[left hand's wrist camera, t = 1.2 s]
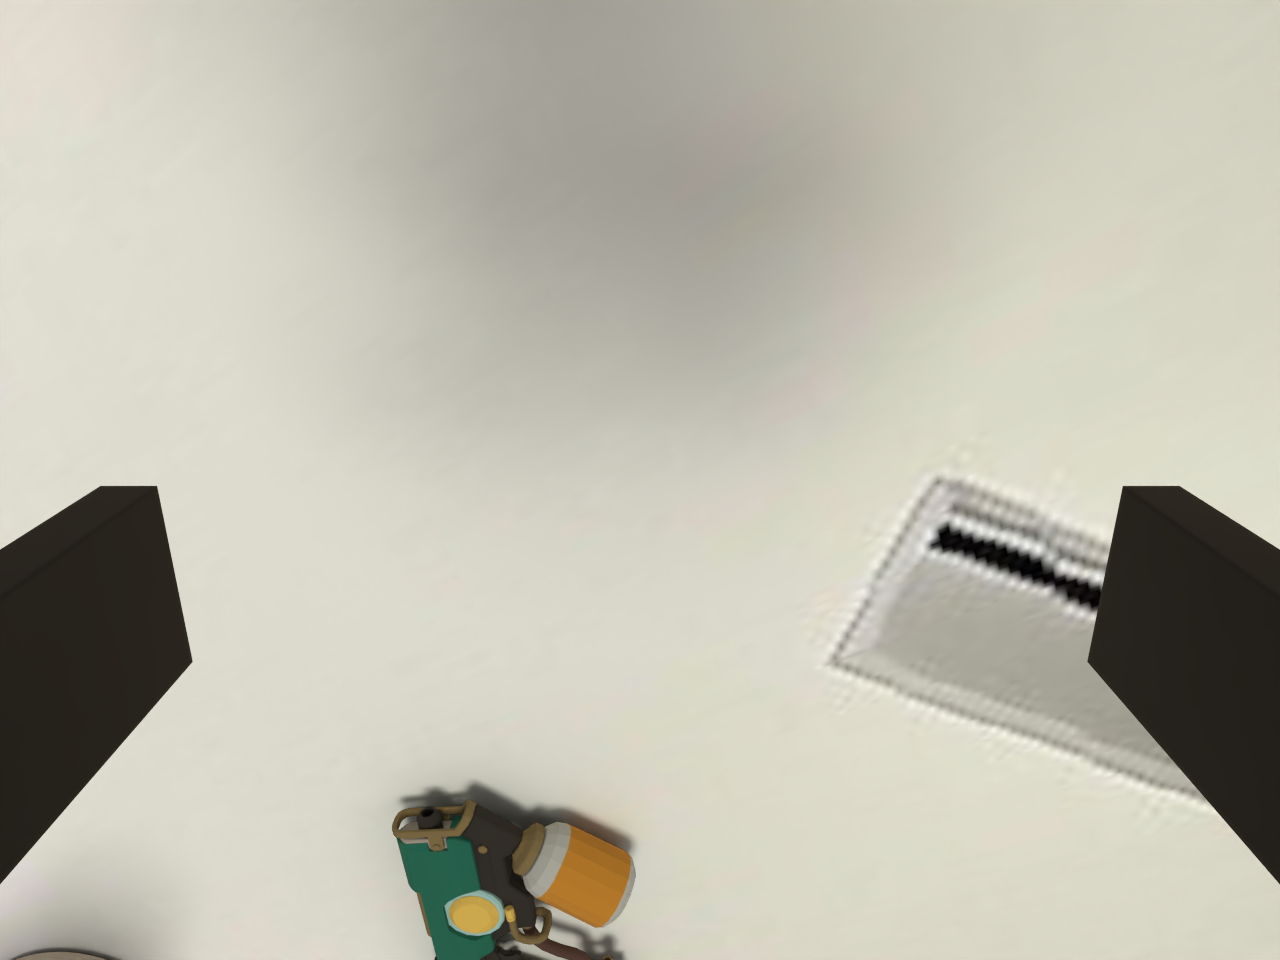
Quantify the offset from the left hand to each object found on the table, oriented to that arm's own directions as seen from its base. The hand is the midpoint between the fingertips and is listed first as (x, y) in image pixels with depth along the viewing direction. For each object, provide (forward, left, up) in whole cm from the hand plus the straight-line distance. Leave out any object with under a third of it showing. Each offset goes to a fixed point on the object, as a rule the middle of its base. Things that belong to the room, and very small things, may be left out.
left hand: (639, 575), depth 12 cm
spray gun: (+37, +7, -31) cm, 48 cm away
